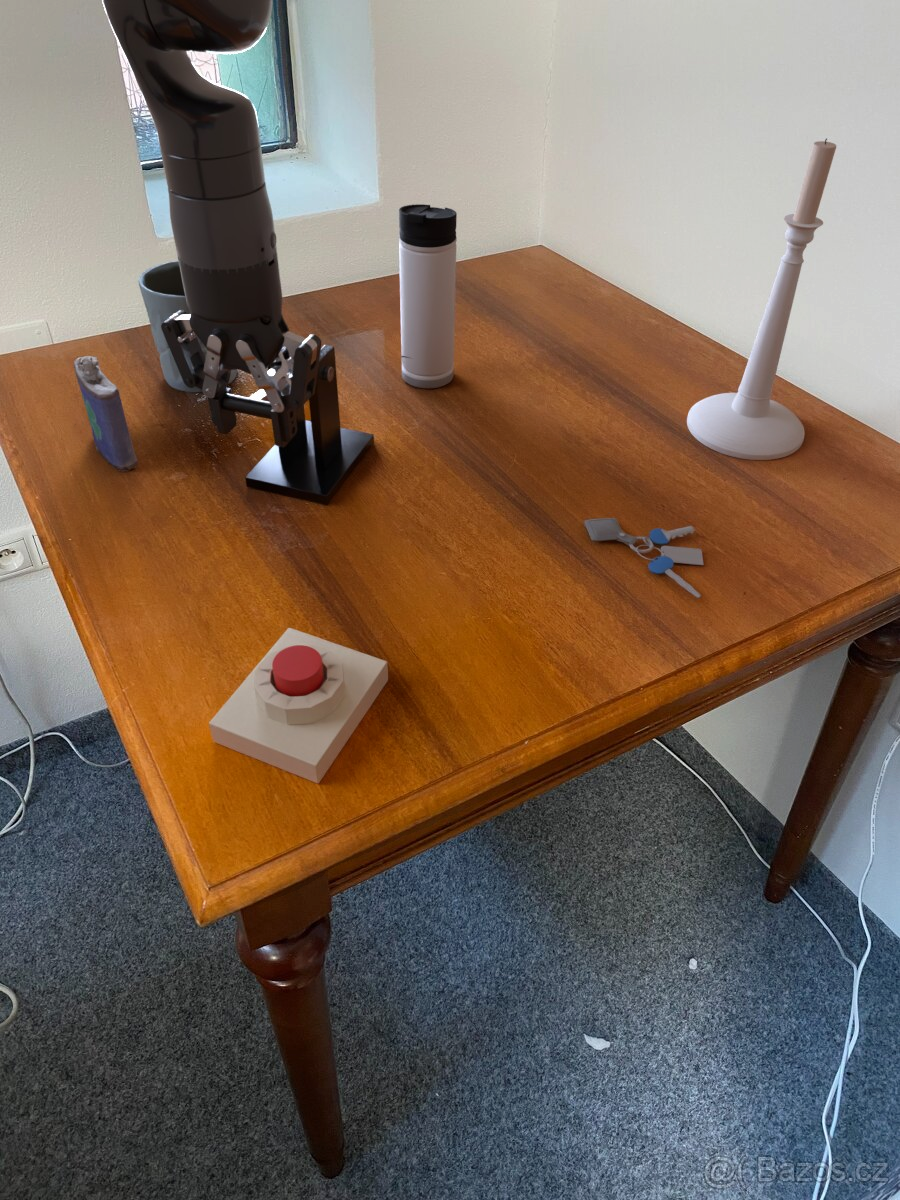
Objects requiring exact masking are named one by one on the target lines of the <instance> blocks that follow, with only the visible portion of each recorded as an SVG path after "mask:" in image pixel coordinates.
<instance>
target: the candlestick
mask: <svg viewBox="0 0 900 1200" xmlns="http://www.w3.org/2000/svg"><path fill="white" fill-rule="evenodd" d="M836 150H837V144H836V143H834V142H830V141H828V138H825V139H824V141H823V140H821V141H820V140H819V141H818V140H817V141H814V142H813V144H812V148H811V152H810V156H809V159H808V162H807V167H806V169H805V174H804V177H803V181H802V183H801V187H800V191H799V195H798V199H797V202H796V206H795V210H794V213H791V214H790V213H789V214H787V215H785V216H784V217H783V220H784V222H785V223H786V225H787V229H786V231H785V233H784V238H785V240H786V241H787V242H786V251H785V253H784V254H783V255H782V256H781V258H780V260H781V261H780V264H779V267H778V268H777V269H778V270H777V273H776V276H775V278H774V281H773V285H772V288H771V291H770V294H769V297H768V300H767V303H766V306H765V310H764V313H763V315H762V318H761V322H760V324H759V327H758V330H757V333H756V337H755V339H754V342H753V345H752V348H751V351H750V353H749V354H750V355H749V358H748V360H747V363H746V366H745V369H744V373H743V375H742V379H741V381H740V384H739V386H738V389H737V392H724V393H718V394H714V395H710V396H707V397H705V398H703V399H701V400H699V401H697V402H695V404H693V405H692V406H691V407H690V409H689V410H688V414H687V417H686V425H687V429H688V430H689V432H690V434H691V435H692V436H693V438H695V440H697V441H698V442H699V443H701V444H702V445H704V446H705V447H707V448H709V449H711V450H713V451H715V452H717V453H720V454H723V455H724V456H725V455H726V456H729V457H733V458H737V459H743V460H750V461H770V460H777V459H782V458H785V457H788V456H790V455H792V454H794V453H796V452H797V451H798V450H799V449H800V448H801V447H802V445H803V443H804V440H805V428H804V425H803V424H802V422H801V420H800V419H799V418H798V417H797V416H796V414H795V413H794V412H792V410H790V409H789V408H788V407H786V406H785V405H783V404H781V403H780V402H777V401H776V400H773V399H771V397H772V395H773V388H774V384H775V378H776V374H777V370H778V367H779V363H780V358H781V354H782V350H783V345H784V342H785V338H786V333H787V328H788V325H789V320H790V316H791V312H792V308H793V305H794V300H795V295H796V290H797V286H798V283H799V278H800V276H801V275H800V273H801V270H802V266H803V263H804V262H805V260H804V257H803V255H804V251H805V250H806V249H807V247H808V244H810V243H811V242H813V240H814V239H815V238H814V237H815V231H816V230H817V229H818V228H820V227H822V226H823V225H824V221H823V220H822V219H821V218H819V217H817V215H818V212H819V208H820V204H821V201H822V198H823V194H824V191H825V188H826V184H827V181H828V177H829V174H830V170H831V167H832V163H833V160H834V156H835V153H836Z"/></svg>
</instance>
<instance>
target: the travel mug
mask: <svg viewBox="0 0 900 1200" xmlns="http://www.w3.org/2000/svg"><path fill="white" fill-rule="evenodd" d="M457 217H458V216H457V211H456V210H454V209H452V208H448V207H444V208H441V207H436V206H435V207H433V206H431V204H423V203H421V204H417V203H415V204H407V205H403V206H401V207H399V209H398V228H399V234H398V242H399V244H398V259H399V261H398V262H399V263H398V264H399V301H400V302H399V303H400V304H399V305H400V306H399V307H400V310H399V311H400V349H401V350H400V352H401V354H400V355H401V356H400V357H401V378H402V379H403V381H404V383H407V384H408V385H409V386H412V387H415V388H418V389H438V388H442V387H444V386H447V385H448V384H450V382H452V380H453V378H454V375H455V371H454V369H455V366H454V365H455V363H454V362H455V328H456V327H455V325H456V324H455V323H456V281H457V241H458V240H457V231H456V230H457V221H458V219H457Z"/></svg>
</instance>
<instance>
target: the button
mask: <svg viewBox="0 0 900 1200" xmlns="http://www.w3.org/2000/svg"><path fill="white" fill-rule="evenodd" d="M272 668H273V674H274V680H275V685H276V687H277V688H278V690H279V691H281V692H282V693H283V694H286V695H288V696H293V697H295V696H306V695H309V694H311V693H313V692H314V691H316V690H317V689H318V688H319V687H320V686H321V684H322V682H323V679H324V673H323V665H322V658H321V655H320V654H319V653H318V652H317V651H316V650H315V649H313V648H311V647H309V646H304V645H295V646H290V647H287V648H285V649H283V650H282V651H280V652H279V653H278V654H277V655H276V656H275V658H274V660H273V663H272Z"/></svg>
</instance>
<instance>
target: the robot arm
mask: <svg viewBox="0 0 900 1200" xmlns="http://www.w3.org/2000/svg"><path fill="white" fill-rule="evenodd" d="M101 1H102V4H103V7H104V11H105V14H106V16H107V19H108V22H109V24H110V27H111V29H112V31H113V33H114V36H115V38H116V40H117V42H118V44H119V46H120V49H121V50H122V52H123V55H124V57H125V59H126V62H127V63H128V65H129V69H130V70H131V72H132V75H133V77H134V80H135V82H136V84H137V86H138V88H139V91H140V93H141V95H142V98H143V100H144V103H145V106H146V107H147V110H148V112H149V114H150V116H151V119H152V121H153V124H154V127H155V129H156V133H157V137H158V143H159V150H160V155H161V158H162V159H161V160H162V166H163V170H164V176H165V181H166V185H167V193H168V199H169V200H168V203H169V204H168V205H169V218H170V224H171V229H172V230H171V231H172V235H173V241H174V245H175V251H176V255H177V261H179V266H180V271H181V276H182V282H183V287H184V292H185V297H186V302H187V305H188V308H189V309H190V311H191V315H188V314H187V313H186V312H184V311H182V310H179V311H178V312H176V313H175V314H174V315H172V316H171V317H170V318H168V319H167V320H166V321H164V322H163V323H162V324H161V329H162V331H163V334H164V336H165V339H166V341H167V343H168V346H169V348H170V351H171V353H172V355H173V358H174V360H175V363H176V365H177V367H178V370H179V372H180V375H181V377H182V380H183V382H184V384H185V385H186V386H187V387H189V388H194V387H197V388H199V389H201V390H202V391H203V392H202V393H203V395H204V396H205V397H206V398H207V401H208V402H207V403H208V408H209V413H210V418H211V419H210V420H211V422H212V424H213V426H214V427H216V430H217V433H218V434H221V435H226V436H227V435H229V434H230V433H231V432H232V431H233V430H234V429H235V428H236V426H237V423H238V421H237V414H236V413H237V412H233V411H228V410H225V409H223V407H222V399H223V396H224V395H225V394H227V393H228V394H233V390H232V388H231V387H227V386H228V385H229V384H230V383H229V379H230V374H231V370H237V371H238V370H239V371H242V372H244V373H246V374H249V375H250V374H251V376H252V378H253V381H254V382H255V384H256V387H257V388H258V389H259V390H261V389H262V390H264V392H265V394H266V396H267V398H268V400H269V402H270V404H271V406H272V408H273V409H272V410H271V411H270V413H271V419H270V420H271V427H272V434H273V439H274V440H273V441H274V445H276V446H280V447H285V446H286V445H287V444H288V442H290V440H291V439H292V438H293V437H294V436H295V435H296V433H297V425H296V424H297V422H296V414H295V409H296V410H300V409H301V408H302V407H303V406H304V407H305V405H306V403H307V402H309V399H310V398H311V397H312V396H313V395H314V393H315V387H316V379H317V372H318V365H319V358H320V351H321V349H322V340H321V338H320V337H319V336H318V335H317V334H309V336H308V337H304V336H302V335H299V334H297V333H295V332H292V331H290V327H289V325H288V323H287V322H286V320H285V318H284V316H283V311H282V310H283V290H282V283H281V274H280V273H281V272H280V265H279V256H278V247H277V235H276V231H275V223H274V222H275V221H274V216H273V210H272V207H271V206H272V205H271V201H270V198H269V194H268V190H267V184H266V177H265V168H264V159H263V153H262V151H263V150H262V143H261V135H260V127H259V121H258V116H257V111H256V108H255V106H254V104H253V103H252V101H251V100H250V99H249V98H248V96H247V95H245V94H243V93H241V92H239V91H237V90H235V89H232V88H229V87H227V86H224V85H221V84H218V83H216V82H214V81H212V80H209V79H208V78H206V77H205V76H203V75H202V74H201V73H200V72H199V70H198V69H197V67H196V66H195V64H194V62H193V61H192V59H191V58H190V55H189V54H188V52H194V53H195V52H197V53H210V54H223V55H228V54H229V55H231V54H238V53H243V52H245V51H247V50H250V49H251V48H252V47H254V46H255V45H256V44H257V43H258V42H259V41H260V40H261V38H262V37H263V36H264V35H265V33H266V30H267V28H268V25H269V22H270V20H271V16H272V13H273V12H272V11H273V0H101ZM197 337H198V338H199V339H200V340H201V342H202V343H203V344H204V346H205V347H206V348H207V354H206V359H205V357H204V354H203V352H202V349H201V347H200V344H199V341H198V339H197ZM283 346H284V347H286V349H287V350H288V352H289V358H290V359H289V362H290V363H291V364H293V373H292V381H291V380H290V378H289V376H288V370H289V369H288V365H287V363H286V361H285V359H284V356H283V354H282V352H281V349H282V348H283ZM190 359H191V362H192V364H193V367H194V368H193V367H192V364H191V362H190ZM270 365H271V368H270V370H269V371H268V367H269V366H270ZM228 383H229V384H228Z"/></svg>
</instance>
